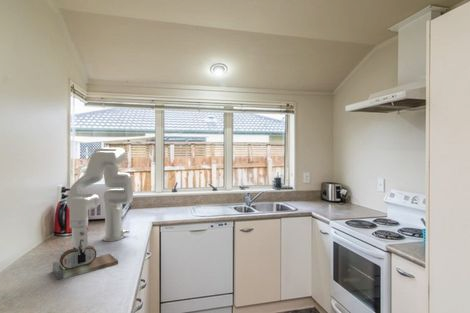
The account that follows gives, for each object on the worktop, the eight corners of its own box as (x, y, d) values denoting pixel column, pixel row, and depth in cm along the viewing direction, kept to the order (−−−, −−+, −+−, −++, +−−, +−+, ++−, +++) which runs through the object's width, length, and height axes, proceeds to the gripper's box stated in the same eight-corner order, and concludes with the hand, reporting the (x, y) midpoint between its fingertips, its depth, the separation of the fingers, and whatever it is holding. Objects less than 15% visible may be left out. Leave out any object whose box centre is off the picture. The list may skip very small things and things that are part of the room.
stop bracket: (57, 269, 123) (57, 261, 123) (63, 278, 115) (63, 269, 115) (52, 270, 122) (52, 262, 122) (57, 280, 113) (57, 270, 113)
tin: (95, 260, 130) (95, 243, 130) (97, 262, 128) (97, 245, 128) (59, 269, 120) (59, 251, 120) (60, 272, 118) (60, 253, 118)
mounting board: (109, 256, 139) (109, 253, 139) (117, 263, 131) (117, 260, 130) (57, 269, 123) (57, 266, 123) (63, 278, 115) (63, 275, 115)
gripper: (93, 225, 120) (93, 263, 120) (83, 218, 133) (83, 252, 133) (74, 228, 115) (74, 268, 115) (65, 221, 128) (65, 256, 128)
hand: (79, 259), depth 124 cm, fingers open, 8 cm apart
